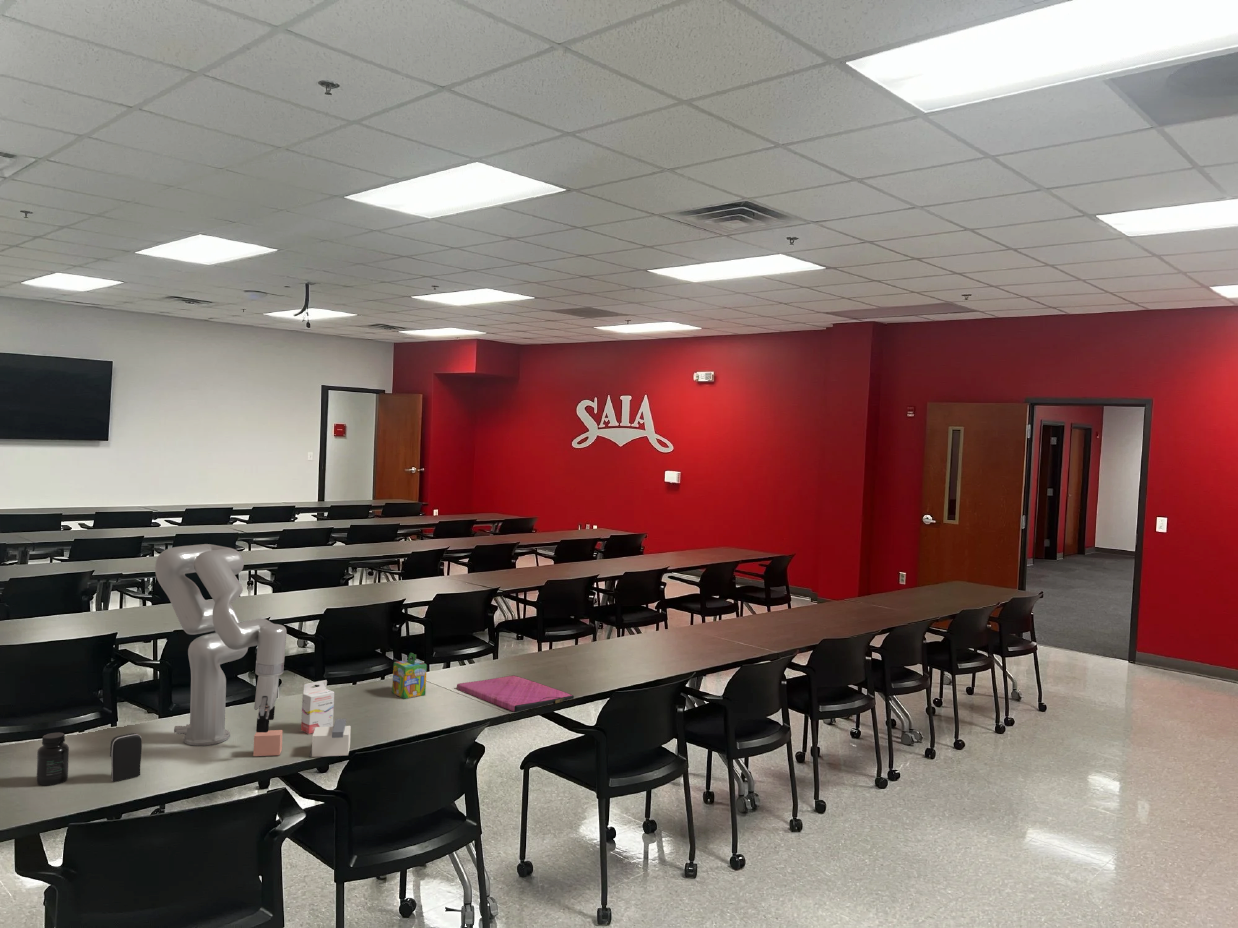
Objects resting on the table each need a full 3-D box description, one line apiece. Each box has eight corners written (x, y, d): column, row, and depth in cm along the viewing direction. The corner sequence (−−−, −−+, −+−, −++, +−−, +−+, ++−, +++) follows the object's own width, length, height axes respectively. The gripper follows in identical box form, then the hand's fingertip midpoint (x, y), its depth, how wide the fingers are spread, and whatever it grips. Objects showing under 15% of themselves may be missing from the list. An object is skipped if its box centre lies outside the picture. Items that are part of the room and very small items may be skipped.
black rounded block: (136, 772, 228) (138, 730, 228) (141, 776, 225) (142, 733, 225) (107, 778, 223) (108, 735, 223) (112, 783, 220) (113, 739, 220)
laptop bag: (456, 679, 317) (513, 669, 336) (455, 690, 317) (513, 679, 336) (522, 704, 289) (581, 692, 308) (521, 716, 289) (580, 703, 308)
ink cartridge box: (309, 734, 262) (310, 687, 262) (300, 730, 265) (302, 684, 265) (333, 728, 269) (335, 682, 268) (325, 724, 272) (326, 678, 271)
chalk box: (391, 693, 308) (392, 652, 308) (414, 689, 314) (415, 649, 314) (403, 699, 301) (404, 658, 301) (426, 695, 307) (427, 654, 307)
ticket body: (308, 759, 242) (309, 733, 242) (313, 744, 253) (314, 719, 253) (347, 757, 244) (348, 731, 244) (350, 743, 256) (351, 718, 256)
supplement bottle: (37, 778, 221) (38, 733, 221) (68, 774, 225) (69, 729, 224) (35, 788, 215) (36, 741, 215) (67, 783, 219) (68, 737, 219)
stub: (253, 756, 242) (254, 736, 242) (256, 750, 246) (256, 730, 246) (279, 754, 243) (280, 734, 243) (281, 749, 248) (282, 729, 248)
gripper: (261, 658, 252) (256, 714, 253) (250, 676, 235) (245, 736, 236) (287, 659, 254) (283, 715, 254) (278, 677, 237) (274, 737, 238)
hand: (265, 725), depth 245 cm, fingers open, 9 cm apart
